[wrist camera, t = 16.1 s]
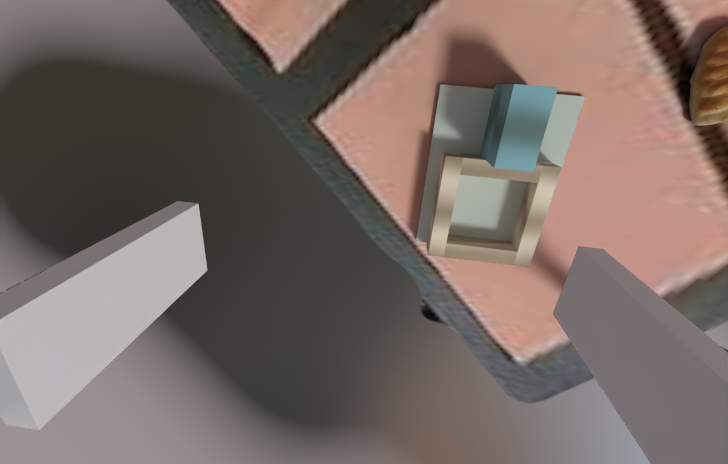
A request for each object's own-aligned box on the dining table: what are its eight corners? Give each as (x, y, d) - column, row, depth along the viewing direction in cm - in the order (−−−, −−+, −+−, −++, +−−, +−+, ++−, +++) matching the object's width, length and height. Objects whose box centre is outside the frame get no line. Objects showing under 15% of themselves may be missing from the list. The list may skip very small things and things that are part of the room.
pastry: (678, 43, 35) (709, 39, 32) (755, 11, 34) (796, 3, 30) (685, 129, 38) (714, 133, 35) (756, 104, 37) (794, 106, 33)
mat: (440, 84, 39) (440, 84, 38) (582, 96, 38) (584, 96, 37) (416, 239, 47) (416, 240, 47) (532, 252, 46) (533, 254, 46)
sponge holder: (455, 80, 38) (465, 79, 32) (573, 90, 37) (608, 91, 31) (426, 245, 47) (430, 270, 40) (521, 256, 46) (540, 284, 40)
